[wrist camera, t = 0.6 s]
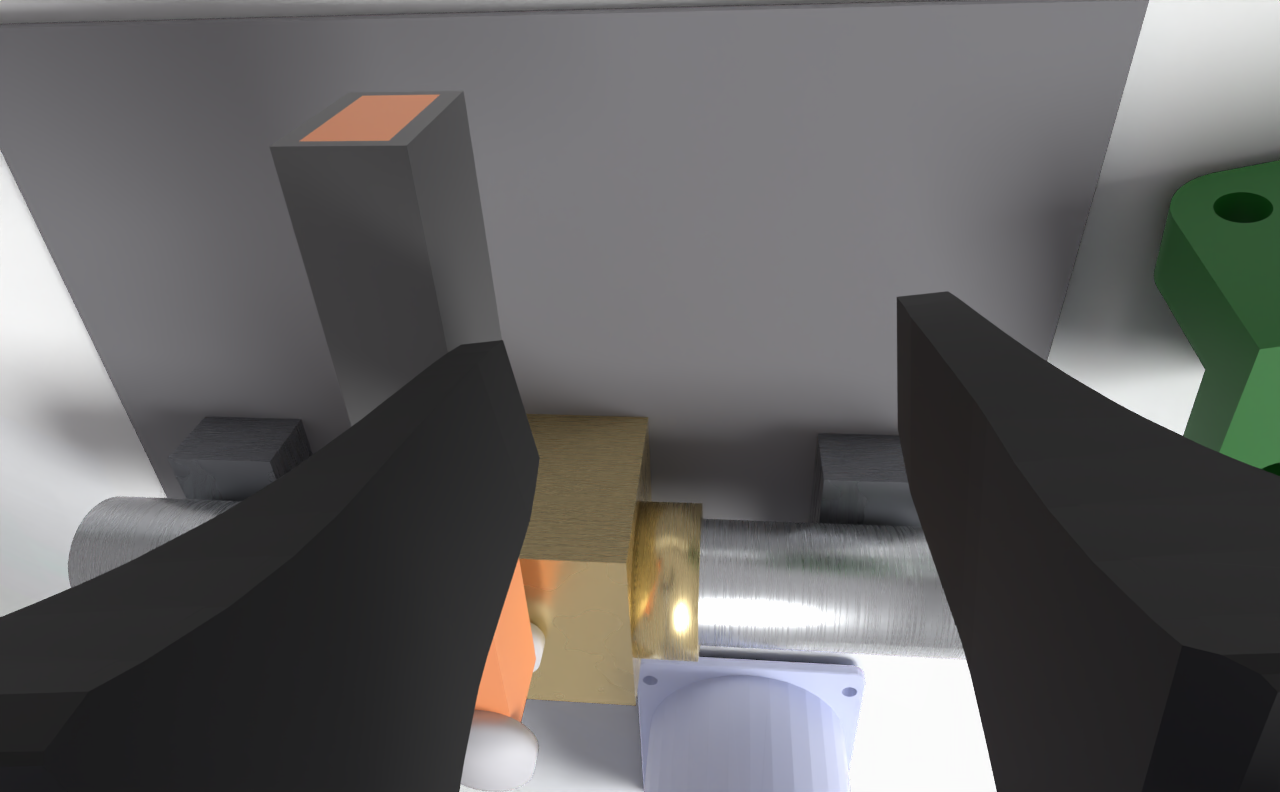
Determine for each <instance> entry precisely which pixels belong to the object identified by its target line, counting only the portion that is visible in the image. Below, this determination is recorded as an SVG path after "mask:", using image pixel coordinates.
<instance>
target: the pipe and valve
mask: <svg viewBox="0 0 1280 792" xmlns="http://www.w3.org/2000/svg"><path fill="white" fill-rule="evenodd" d="M526 415H527V419H528V422H529V425H530V428H531V431H532V435H533V438H534V441H535V444H536V447H537V451H538V454H539V457H540V460H539V467H538V474H537V481H536V489H535V495H534V501H533V506H532V512H531V518H530V522H529V525H528V529H527V532H526V536H525V539H524V542H523V545H522V549H521V552H520V555H519V561H520V567H521V572H522V578H523V584H524V590H525V596H526V602H527V608H528V614H529V620H530V622H531V623H533V624H535V625H536V626H537V627H538V628H539V629H540V630H541V631H542V632H543V634H544V636H545V645H544V649H543V654H542V658H541V662H540V665H539V667H538V669H537V670H536V671H534V672H533V674H532V678H531V682H530V686H529V690H528V695H527V699H535V700H552V701H568V702H584V703H601V704H617V705H633V706H636V699H637V690H638V681H639V673H640V664H641V659H659V660H677V661H695V662H698V660H699V648H700V645H705V646H724V647H743V648H761V649H780V650H799V651H817V652H836V653H855V654H873V655H892V656H911V657H929V658H948V659H966V657H965V653H964V650H963V646H962V643H961V640H960V637H959V634H958V631H957V628H956V625H955V622H954V619H953V616H952V613H951V611H950V608H949V605H948V602H947V599H946V596H945V593H944V590H943V587H942V584H941V582H940V579H939V576H938V573H937V570H936V567H935V564H934V561H933V558H932V556H931V553H930V550H929V547H928V544H927V541H926V538H925V535H924V532H923V529H922V526H921V523H920V520H919V517H918V515H917V512H916V509H915V506H914V503H913V500H912V497H911V494H910V489H909V484H908V479H907V474H906V469H905V464H904V459H903V454H902V449H901V444H900V438H899V435H872V434H835V433H818V436H817V446H816V455H815V465H814V474H813V484H812V494H811V503H810V513H809V522H808V523H802V522H776V521H750V520H723V519H703V503H677V502H652V498H651V474H650V449H649V424H648V417H630V416H591V415H552V414H526ZM312 455H313V453H312V450H311V447H310V444H309V441H308V438H307V435H306V432H305V429H304V426H303V423H302V420H301V419H282V418H245V417H208V416H205V417H204V419H203V420H202V421H201V422H200V423H199V424H198V425H197V426H196V427H195V429H194V430H193V431H192V432H191V433H190V434H189V435H188V436H187V437H186V439H185V440H184V441H183V442H182V443H181V444H180V445H179V446H178V447H177V449H176V450H175V451H174V452H173V453H172V454H171V455H170V456H169V457H168V460H169V463H170V465H171V467H172V469H173V471H174V473H175V476H176V478H177V480H178V482H179V484H180V486H181V489H182V491H183V493H184V495H185V497H186V499H171V498H145V497H112V498H109V499H106V500H104V501H102V502H101V503H99V504H98V505H96V506H95V507H94V508H93V509H92V510H91V511H90V512H89V513H88V514H87V515H86V516H85V518H84V519H83V521H82V522H81V524H80V526H79V527H78V529H77V531H76V534H75V536H74V538H73V541H72V545H71V549H70V553H69V561H68V573H69V581H70V585H71V588H72V587H75V586H77V585H79V584H82V583H84V582H86V581H88V580H90V579H93V578H95V577H97V576H99V575H101V574H104V573H106V572H108V571H110V570H112V569H115V568H117V567H119V566H121V565H123V564H125V563H127V562H129V561H132V560H134V559H136V558H138V557H139V556H141V555H143V554H145V553H147V552H149V551H151V550H153V549H155V548H157V547H159V546H161V545H163V544H164V543H166V542H168V541H170V540H172V539H174V538H176V537H178V536H180V535H182V534H184V533H186V532H188V531H189V530H191V529H193V528H195V527H197V526H199V525H201V524H203V523H205V522H207V521H209V520H211V519H212V518H214V517H216V516H218V515H219V514H221V513H223V512H225V511H226V510H228V509H230V508H231V507H233V506H235V505H236V504H238V503H240V502H241V501H243V500H245V499H246V498H248V497H249V496H251V495H253V494H254V493H256V492H258V491H259V490H261V489H263V488H264V487H266V486H267V485H269V484H271V483H272V482H274V481H275V480H277V479H278V478H280V477H281V476H283V475H284V474H286V473H287V472H289V471H290V470H292V469H293V468H295V467H296V466H298V465H299V464H301V463H302V462H303V461H305V460H306V459H308V458H309V457H310V456H312Z"/></svg>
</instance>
